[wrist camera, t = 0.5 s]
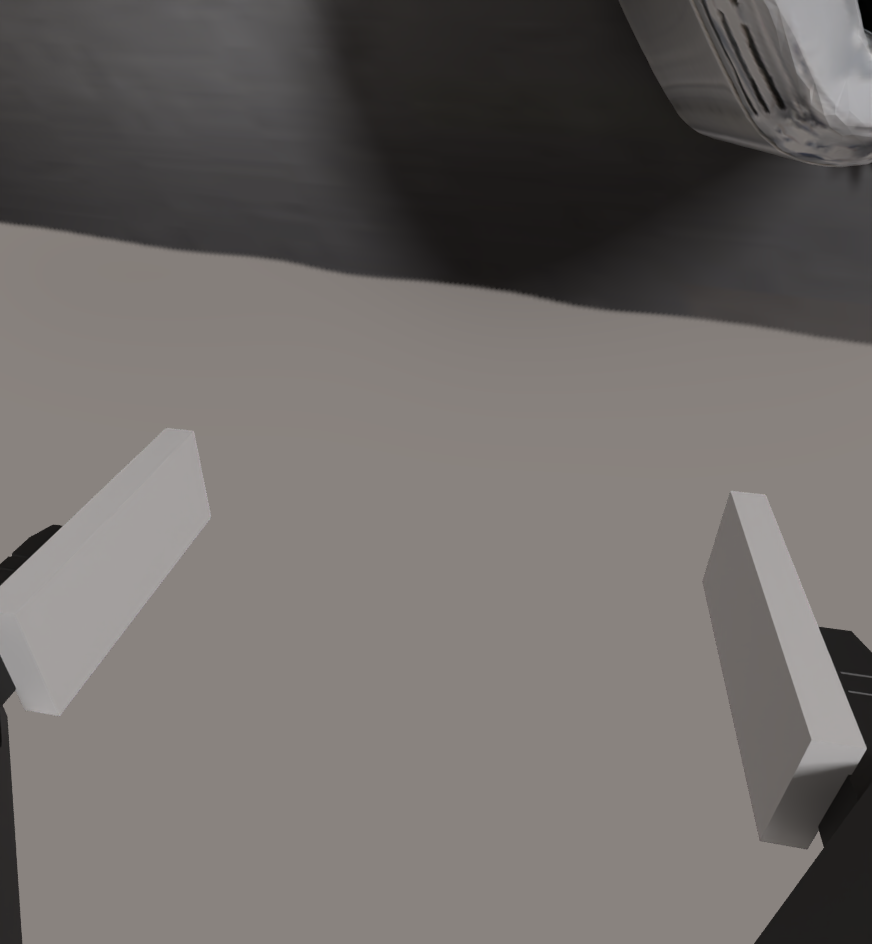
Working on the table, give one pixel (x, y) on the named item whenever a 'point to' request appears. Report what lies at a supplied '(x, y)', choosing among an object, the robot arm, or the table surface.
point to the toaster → (766, 72)
